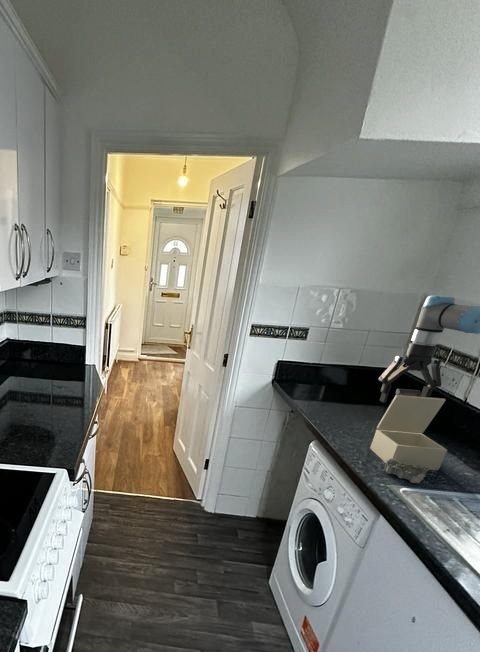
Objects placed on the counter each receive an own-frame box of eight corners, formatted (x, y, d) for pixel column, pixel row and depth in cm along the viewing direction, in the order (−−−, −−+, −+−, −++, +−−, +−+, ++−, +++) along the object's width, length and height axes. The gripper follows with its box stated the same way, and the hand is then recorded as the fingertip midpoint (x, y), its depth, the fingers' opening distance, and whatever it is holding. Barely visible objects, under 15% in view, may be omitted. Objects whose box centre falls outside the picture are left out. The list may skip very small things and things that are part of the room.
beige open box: (438, 470, 138) (447, 449, 135) (389, 466, 140) (397, 445, 136) (414, 452, 151) (422, 433, 148) (369, 448, 152) (376, 429, 149)
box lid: (445, 400, 138) (433, 386, 144) (396, 396, 139) (386, 383, 145) (423, 433, 147) (412, 419, 153) (377, 429, 148) (368, 415, 154)
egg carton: (425, 479, 132) (431, 468, 130) (417, 486, 128) (422, 474, 126) (389, 464, 140) (393, 454, 138) (380, 470, 136) (384, 459, 134)
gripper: (454, 343, 142) (431, 402, 151) (379, 338, 144) (360, 396, 153) (470, 348, 135) (444, 409, 144) (391, 342, 137) (371, 403, 146)
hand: (401, 403), depth 148 cm, fingers open, 12 cm apart
